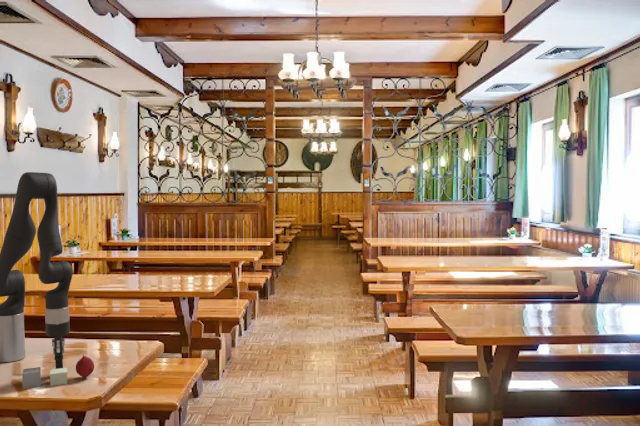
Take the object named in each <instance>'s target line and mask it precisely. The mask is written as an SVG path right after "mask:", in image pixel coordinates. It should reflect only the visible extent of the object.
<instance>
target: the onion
mask: <svg viewBox="0 0 640 426" xmlns="http://www.w3.org/2000/svg"><path fill="white" fill-rule="evenodd" d="M94 370H95V363H94V360H92V359H91V358H90V357H88V356H87V355H86V354H83V355H82V357H81V358H80V359H79V360H78V361H77V362H76V364H75V372H76V373H77V375H79V376H80V377H82V378H83V379H86V378H88V377H89V376H91V374H92V373H93V372H94Z"/></svg>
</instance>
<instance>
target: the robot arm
mask: <svg viewBox="0 0 640 426" xmlns="http://www.w3.org/2000/svg"><path fill="white" fill-rule="evenodd" d="M14 198H15V199H14V204H13V209H12V213H11V215H10V216H11V217H10V220H9V222H8V226H7V228H6V231H5V235H4V238H3V243H2V247H1V249H0V298H2V297H7V299H5V301H3V302H2V303H0V363H9V362H11V363H13V362H16V361H20V360H23V359H25V358H26V339H25V312H24V309H25V304H26V281H25V276H24V274H23V272H22V271H21V270H19V269H14V266H15V265H16V264H17V263H18V262H19V261H20V260H22V258H23V257H24V256H25V255H26V254H27V253H28V252H29V251H30V250H31V249H32V247H33V243H34V240H35V237H36V235H37V237H36V238H37V243H38V247H39V266H38V273H37V274H38V275H37V276H38V280H39V281H40V282H41V283H42V284H45V285H53V284H57V283H58V284H57V286H56V287H55V288H53V289H51V290H48V291H46V293H45V296H44V297H45V298H44V300H45V312H44V313H45V315H44V319H45V320H44V321H45V323H44V324H45V326H44V327H45V335H46V337H54V338H52V339H51V347H52V353H53V355H54V358H53V359H54V361H55V362H54V363H55V369H59V368H64V365H63V364H64V363H63V362H64V361H63V360H64V353H65V345H66V343H65V341H66V340H65V337H63V336H66V335H68V334H69V333H70V332H71V325H70V324H71V323H70V322H71V321H70V310H69V290H70V288H71V287H70V286H71V282H72V279H73V273H74V270H73V266H72V265H71V263H70V262H68V261H64V260H63V261H55V262H51V259H52V258H53V257H56V256H59V255H61V254H63V244H62V239H61V233H60V228H59V226H60V225H59V205H58V204H59V203H58V202H59V201H58V185H57V181H56V178H55V176H54V175H53V174H52V173H50V172H49V173H48V172H34V171H30V172H29V171H27V172H24V173H22V174H21V175H20V178H19V180H18V184H17V188H16V193H15V197H14ZM32 200H43V201H44V206H45V207H44V213H43V215H42V218H41V221H40V222H39V225H38V228H36V224H35V222H34V220H33V217H32V215H31V213H30V205H31V201H32ZM36 233H37V234H36Z"/></svg>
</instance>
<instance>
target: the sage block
mask: <svg viewBox="0 0 640 426" xmlns="http://www.w3.org/2000/svg"><path fill="white" fill-rule="evenodd" d="M68 378H69V377H68V367H63V368H59V369H56V368H51V369H50V372H49V383H50V384H49V385H50V387H52V386H53V387H54V386H59V385H60V386H61V385H66V384H68Z"/></svg>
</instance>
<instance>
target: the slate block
mask: <svg viewBox="0 0 640 426" xmlns="http://www.w3.org/2000/svg"><path fill="white" fill-rule="evenodd" d="M21 376H22V389H23V390H25V389H31V388H39V387H41V383H42V372H41V366H37V367H29V368H23V369H22V373H21Z"/></svg>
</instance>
